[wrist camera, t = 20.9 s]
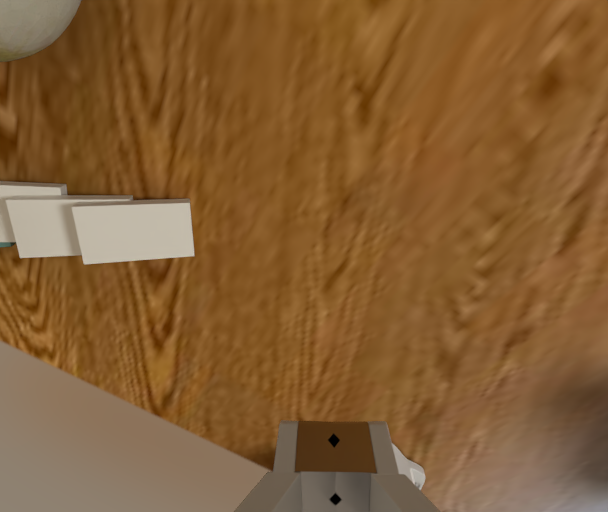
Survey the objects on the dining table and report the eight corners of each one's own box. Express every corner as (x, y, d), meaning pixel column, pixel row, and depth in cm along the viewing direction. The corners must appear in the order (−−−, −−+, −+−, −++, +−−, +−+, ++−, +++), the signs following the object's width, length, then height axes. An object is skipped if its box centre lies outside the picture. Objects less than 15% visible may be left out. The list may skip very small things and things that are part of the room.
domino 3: (194, 256, 32) (83, 264, 29) (194, 249, 33) (89, 256, 31) (189, 202, 30) (71, 206, 27) (189, 198, 32) (77, 201, 29)
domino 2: (136, 252, 32) (20, 257, 29) (138, 246, 33) (28, 250, 31) (129, 199, 30) (5, 199, 27) (132, 195, 32) (15, 195, 29)
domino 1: (67, 241, 32) (-60, 242, 29) (72, 235, 33) (-47, 235, 30) (60, 187, 30) (-76, 181, 27) (66, 183, 31) (-62, 178, 28)
